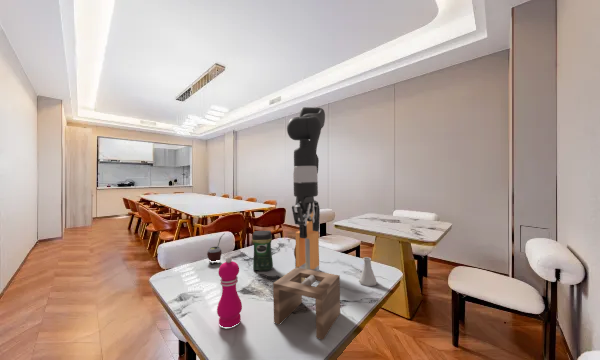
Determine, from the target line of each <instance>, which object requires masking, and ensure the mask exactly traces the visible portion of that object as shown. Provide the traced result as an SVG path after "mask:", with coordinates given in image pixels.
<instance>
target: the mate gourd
mask: <svg viewBox="0 0 600 360" xmlns="http://www.w3.org/2000/svg"><path fill="white" fill-rule="evenodd" d="M224 235H225V232H224V233H223V234H222V235H221V236H220V237H219V239H218V243H217V246H212V247H211V246H210V247H209V248H208V249H207V253H206V256H207V259H208V260H211V261H216V260H220V261H221V257H222V249H221V248H220V246H219V245H220V242H221V239H222V237H223V236H224Z"/></svg>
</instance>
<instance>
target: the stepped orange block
mask: <svg viewBox="0 0 600 360" xmlns="http://www.w3.org/2000/svg"><path fill="white" fill-rule="evenodd" d="M306 226H307V239H309V242H310V269H315V268H316V267H317V266H319V267H320V249H319V248H320V246H319V245H320V244H319V241H320V240H319V234H318V233H319V232H318V231H313V223H312V221H307V225H306ZM294 233H295V245H296V266H297V267H300V266H302V265H303V264H304V263H306V259H305V238H300V232H299V230H298V231H296V232H294Z"/></svg>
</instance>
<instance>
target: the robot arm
mask: <svg viewBox="0 0 600 360" xmlns="http://www.w3.org/2000/svg"><path fill="white" fill-rule="evenodd" d="M325 113H326V112H325V110H324V109H323V107H315V106H314V107H309V106H307V107H303V106H302V107H301V108H300V111H299V116H295V117H292V118H290V120H289V121H288V123H287V126H286V132H287V135H288V137H289V138H290V139H292V140H294V141H299V146H298V147H297V148H295V149H294V150H293V174H292V175H293V177H292V178H293V180H292V181H293V196H294V197H295V205H292V207H291V211H292V216H293V220H294V224H295V225H298V226H299V227H298V228H299V229H298V231H299V232H300V238H305V259H306V263H304V264H303V265H302V266H300V267H299V268H303V269H308V270H313V271H319V272H320V265H319V266H317V267H316V268H315V269H310V242H309V239H307V226H306V225H307V221H312V223H313V231H318V234H319V230H320V215H321V214H320V204H319V202H318V201H317V200H315V198H314V197H318V194H319V189H318V188H319V187H318V185H319V184H318V183H319V181H318V175H319V174H318V173H319V155H318V154H317V149H318V148H317V147H318V145H319V140H320V136H321V133H322V129H323V128H324V126H325V123H326V114H325Z"/></svg>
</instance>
